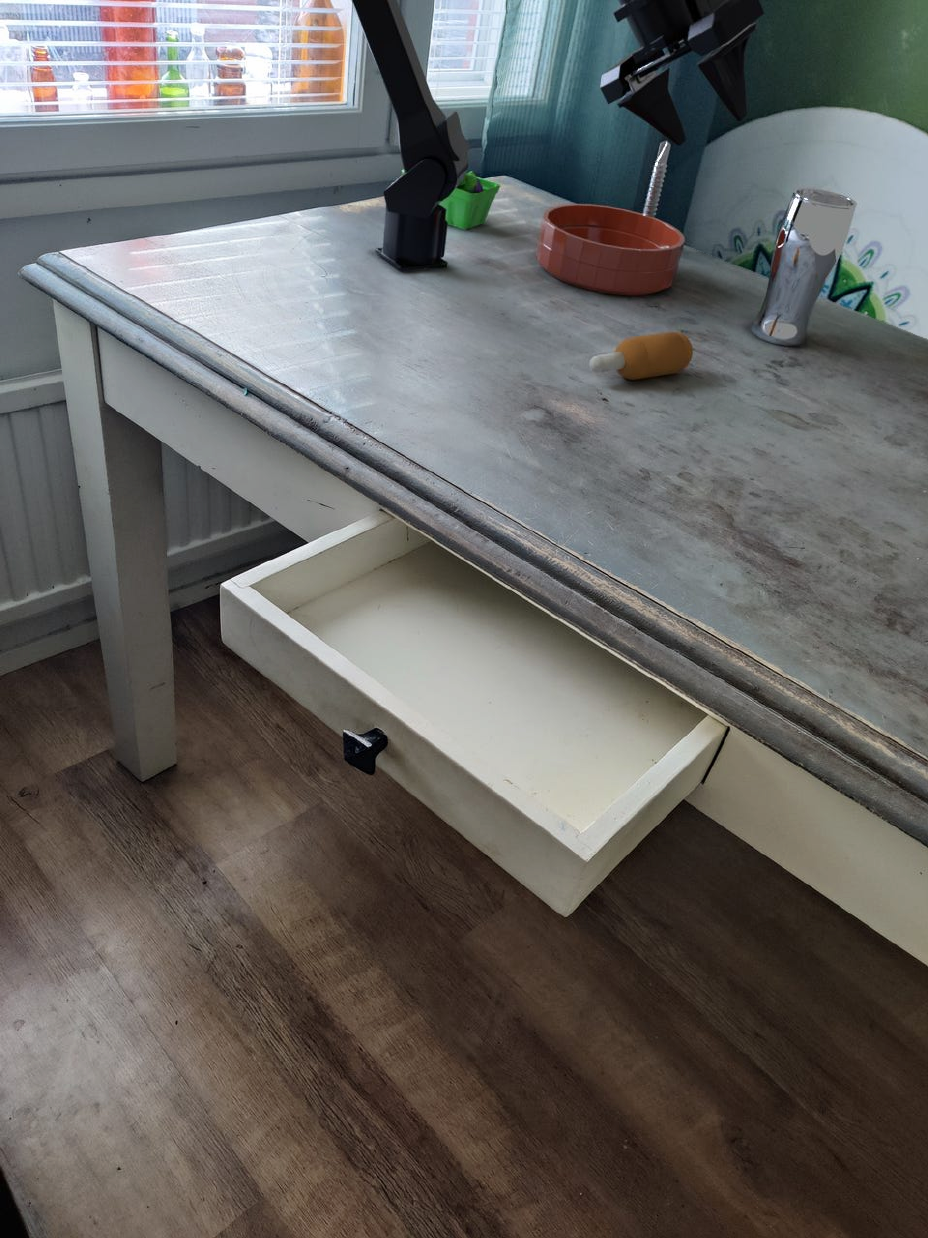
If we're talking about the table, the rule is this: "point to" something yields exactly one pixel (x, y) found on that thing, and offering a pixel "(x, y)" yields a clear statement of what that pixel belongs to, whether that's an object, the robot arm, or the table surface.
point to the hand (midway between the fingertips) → (711, 131)
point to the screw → (657, 180)
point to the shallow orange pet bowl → (609, 249)
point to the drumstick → (647, 356)
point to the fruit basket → (469, 201)
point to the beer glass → (802, 262)
